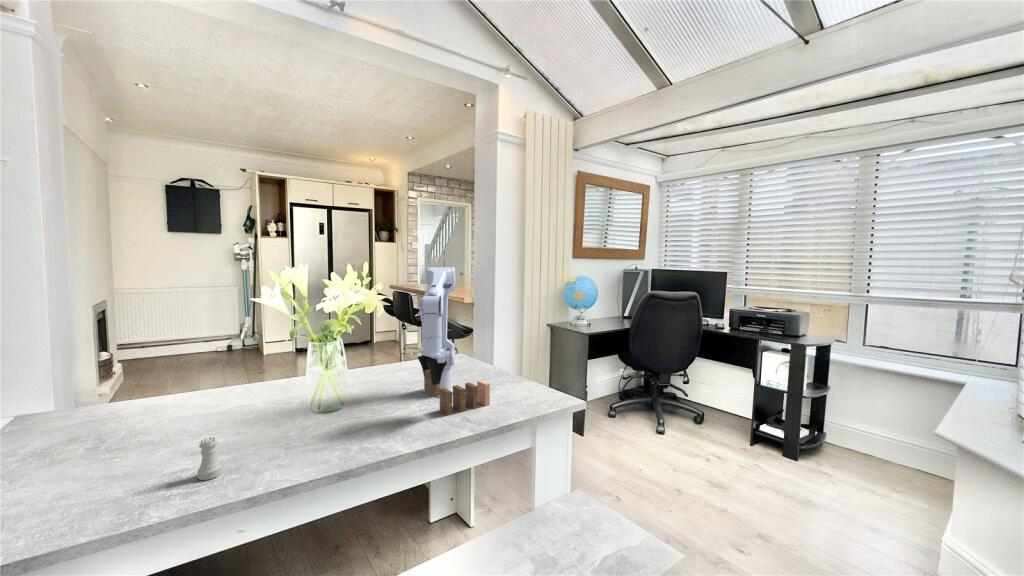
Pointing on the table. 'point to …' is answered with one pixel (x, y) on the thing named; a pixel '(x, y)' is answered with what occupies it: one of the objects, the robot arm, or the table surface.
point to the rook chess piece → (209, 460)
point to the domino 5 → (483, 393)
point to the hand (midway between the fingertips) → (432, 381)
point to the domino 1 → (430, 385)
